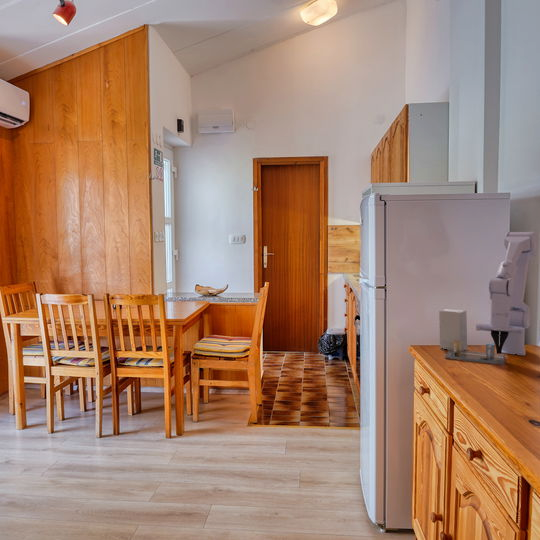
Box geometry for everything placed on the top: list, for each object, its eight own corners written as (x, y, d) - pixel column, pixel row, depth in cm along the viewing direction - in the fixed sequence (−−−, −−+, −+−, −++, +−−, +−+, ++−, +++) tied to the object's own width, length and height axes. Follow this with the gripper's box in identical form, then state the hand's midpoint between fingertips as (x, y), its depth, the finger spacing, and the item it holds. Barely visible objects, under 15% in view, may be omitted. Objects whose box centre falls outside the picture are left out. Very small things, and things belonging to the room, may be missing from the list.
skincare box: (467, 350, 170) (468, 310, 169) (460, 352, 166) (461, 312, 165) (445, 346, 176) (446, 307, 175) (438, 348, 172) (439, 309, 171)
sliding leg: (486, 353, 159) (486, 342, 159) (494, 354, 158) (494, 343, 158) (484, 358, 153) (485, 346, 153) (492, 359, 152) (493, 347, 152)
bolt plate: (449, 351, 168) (450, 338, 167) (505, 357, 159) (505, 343, 159) (445, 358, 158) (445, 344, 158) (503, 365, 149) (504, 350, 149)
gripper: (475, 313, 155) (474, 353, 156) (524, 316, 148) (523, 358, 149) (477, 310, 161) (476, 348, 162) (524, 313, 154) (523, 353, 155)
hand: (499, 353), depth 156 cm, fingers closed
